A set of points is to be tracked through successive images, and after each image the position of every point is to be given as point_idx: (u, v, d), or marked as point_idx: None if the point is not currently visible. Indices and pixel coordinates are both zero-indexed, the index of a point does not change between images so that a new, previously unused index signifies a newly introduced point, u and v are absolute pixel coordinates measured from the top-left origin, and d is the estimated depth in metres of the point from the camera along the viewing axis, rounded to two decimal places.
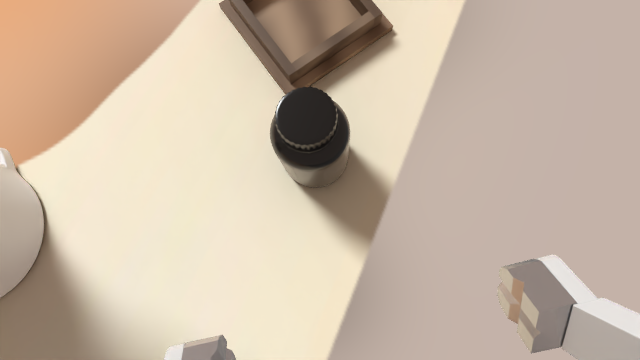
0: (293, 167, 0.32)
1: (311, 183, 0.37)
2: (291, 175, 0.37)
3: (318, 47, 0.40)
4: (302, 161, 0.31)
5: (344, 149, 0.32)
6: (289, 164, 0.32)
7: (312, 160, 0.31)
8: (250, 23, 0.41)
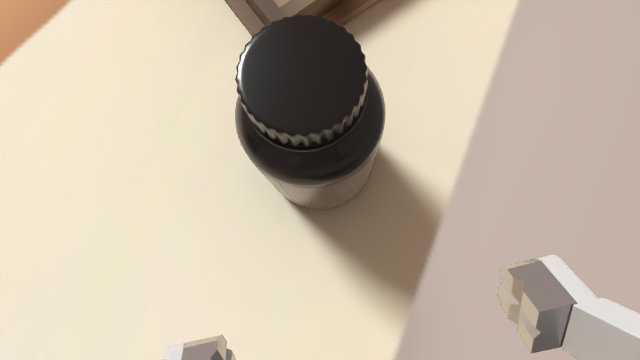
0: (279, 180, 0.17)
1: (313, 204, 0.22)
2: (279, 191, 0.22)
3: None
4: (295, 169, 0.16)
5: (376, 145, 0.17)
6: (271, 174, 0.17)
7: (315, 167, 0.16)
8: None
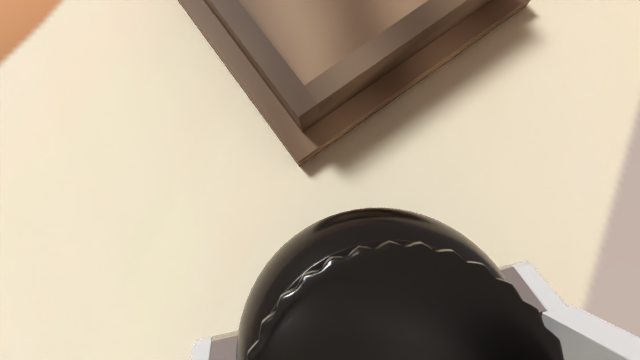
0: None
1: None
2: None
3: (370, 46, 0.16)
4: None
5: None
6: None
7: None
8: None
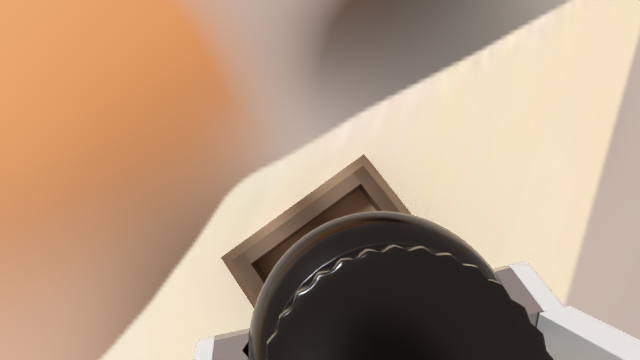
0: None
1: None
2: None
3: None
4: None
5: None
6: None
7: None
8: None
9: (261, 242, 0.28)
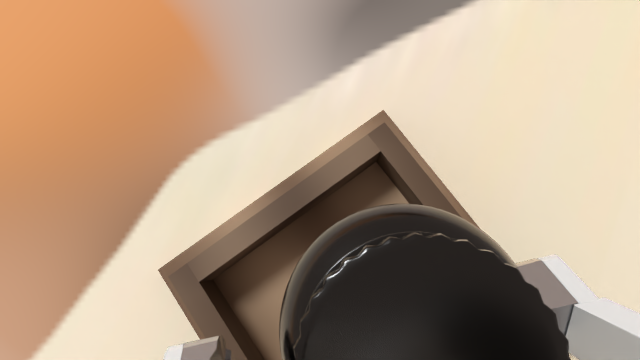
0: None
1: None
2: None
3: None
4: None
5: None
6: None
7: None
8: None
9: (217, 246, 0.17)
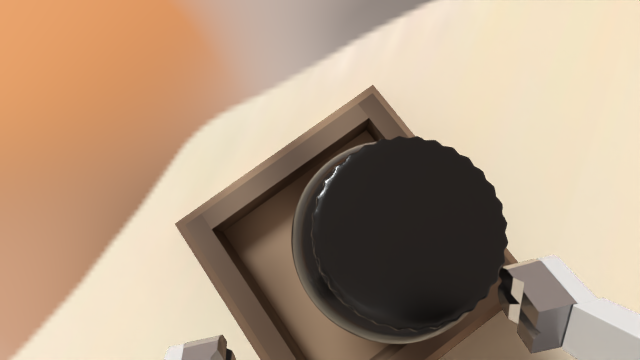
0: (351, 332, 0.12)
1: None
2: None
3: None
4: (379, 330, 0.12)
5: None
6: (341, 327, 0.12)
7: (407, 329, 0.11)
8: (236, 300, 0.19)
9: (227, 199, 0.20)
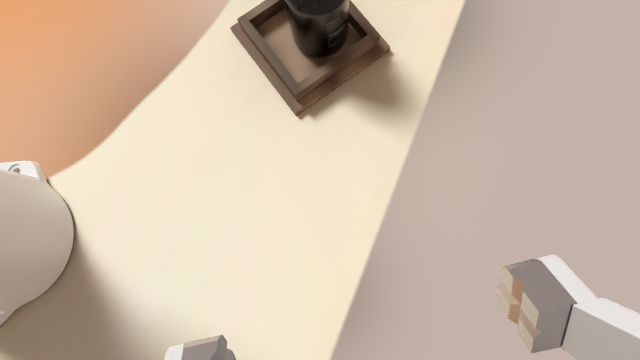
0: (302, 15, 0.38)
1: (316, 46, 0.43)
2: (299, 40, 0.43)
3: (322, 68, 0.44)
4: (309, 6, 0.37)
5: None
6: (298, 11, 0.38)
7: (318, 5, 0.37)
8: (260, 46, 0.45)
9: (255, 8, 0.46)
